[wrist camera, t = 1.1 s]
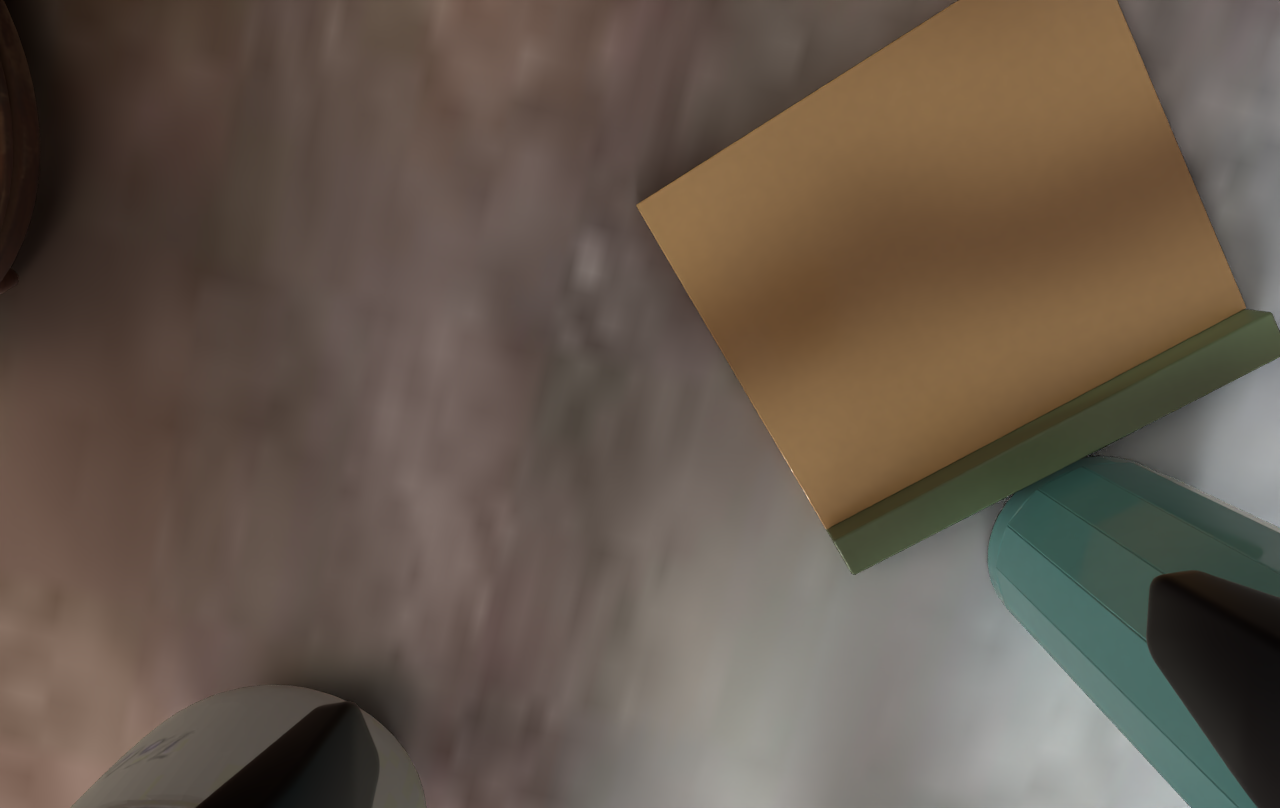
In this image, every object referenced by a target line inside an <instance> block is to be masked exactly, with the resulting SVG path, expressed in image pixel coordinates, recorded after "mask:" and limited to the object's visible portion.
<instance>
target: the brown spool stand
mask: <svg viewBox="0 0 1280 808" xmlns="http://www.w3.org/2000/svg"><path fill="white" fill-rule="evenodd" d="M39 170H40V133H39V118H38V112H37V105H36V98H35V92H34V87H33V83H32V79H31V75H30V71H29V67H28V63H27V60H26V57H25V54H24V51H23V47H22V44H21V41H20V38H19V35H18V33H17V30H16V28H15V26H14V23H13V21H12V18H11V16H10V14H9V11H8V9H7V7H6V5H5V3H4V1H3V0H0V294H2V293H4V292H6V291H7V290H9V289H10V288H12V287H13V286H15V285H16V284H17V283H18V275H17V273H16V272H15V271H14V270H13V269H11V268H10V267H11V265H12V264H13V262H14V260H15V258H16V256H17V254H18V252H19V250H20V248H21V246H22V243H23V241H24V238H25V235H26V232H27V230H28V227H29V224H30V221H31V217H32V213H33V209H34V204H35V200H36V195H37V187H38V179H39Z"/></svg>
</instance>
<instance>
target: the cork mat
mask: <svg viewBox="0 0 1280 808" xmlns="http://www.w3.org/2000/svg"><path fill="white" fill-rule="evenodd" d="M636 206H637V208H638V210H639V211H640V213H641V215H642V217H643V218H644V220H645V222H646V223H647V225H648V227H649V228H650V230H651V232H652V234H653V235H654V237H655V239H656V240H657V242H658V244H659V246H660V247H661V249H662V251H663V252H664V254H665V256H666V257H667V259H668V261H669V263H670V264H671V266H672V268H673V269H674V271H675V273H676V275H677V276H678V278H679V280H680V281H681V283H682V285H683V286H684V288H685V290H686V292H687V293H688V295H689V297H690V298H691V300H692V302H693V304H694V305H695V307H696V309H697V310H698V312H699V314H700V315H701V317H702V319H703V321H704V322H705V324H706V326H707V327H708V329H709V331H710V333H711V334H712V336H713V338H714V339H715V341H716V343H717V344H718V346H719V348H720V350H721V351H722V353H723V355H724V356H725V358H726V360H727V362H728V363H729V365H730V367H731V368H732V370H733V372H734V373H735V375H736V377H737V379H738V380H739V382H740V384H741V385H742V387H743V389H744V390H745V392H746V394H747V396H748V397H749V399H750V401H751V402H752V404H753V406H754V408H755V409H756V411H757V413H758V414H759V416H760V418H761V419H762V421H763V423H764V425H765V426H766V428H767V430H768V431H769V433H770V435H771V437H772V438H773V440H774V442H775V443H776V445H777V447H778V448H779V450H780V452H781V454H782V455H783V457H784V459H785V460H786V462H787V464H788V466H789V467H790V469H791V471H792V472H793V474H794V476H795V477H796V479H797V481H798V483H799V484H800V486H801V488H802V489H803V491H804V493H805V495H806V496H807V498H808V500H809V501H810V503H811V505H812V506H813V508H814V510H815V512H816V513H817V515H818V517H819V518H820V520H821V522H822V524H823V525H824V527H825V529H826V530H827V532H828V534H829V536H830V537H831V539H832V541H833V543H834V545H835V546H836V548H837V550H838V551H839V553H840V555H841V557H842V558H843V560H844V562H845V563H846V565H847V567H848V568H849V570H850V572H851V573H852V574H853V575H856V574H858V573H859V572H861V571H863V570H865V569H867V568H869V567H871V566H873V565H875V564H877V563H879V562H881V561H883V560H885V559H887V558H889V557H891V556H893V555H895V554H897V553H898V552H900V551H902V550H904V549H906V548H908V547H910V546H912V545H914V544H916V543H918V542H920V541H922V540H924V539H926V538H928V537H930V536H932V535H934V534H936V533H937V532H939V531H941V530H943V529H945V528H947V527H949V526H951V525H953V524H955V523H957V522H959V521H961V520H963V519H965V518H967V517H969V516H971V515H973V514H975V513H976V512H978V511H980V510H982V509H984V508H986V507H988V506H990V505H992V504H994V503H996V502H998V501H1000V500H1002V499H1004V498H1006V497H1008V496H1010V495H1012V494H1014V493H1015V492H1017V491H1019V490H1021V489H1023V488H1025V487H1027V486H1029V485H1031V484H1033V483H1035V482H1037V481H1039V480H1041V479H1043V478H1045V477H1047V476H1049V475H1051V474H1053V473H1054V472H1056V471H1058V470H1060V469H1062V468H1064V467H1066V466H1068V465H1070V464H1072V463H1074V462H1076V461H1078V460H1080V459H1082V458H1084V457H1086V456H1088V455H1090V454H1092V453H1093V452H1095V451H1097V450H1099V449H1101V448H1103V447H1105V446H1107V445H1109V444H1111V443H1113V442H1115V441H1117V440H1119V439H1121V438H1123V437H1125V436H1127V435H1129V434H1131V433H1132V432H1134V431H1136V430H1138V429H1140V428H1142V427H1144V426H1146V425H1148V424H1150V423H1152V422H1154V421H1156V420H1158V419H1160V418H1162V417H1164V416H1166V415H1168V414H1170V413H1171V412H1173V411H1175V410H1177V409H1179V408H1181V407H1183V406H1185V405H1187V404H1189V403H1191V402H1193V401H1195V400H1197V399H1199V398H1201V397H1203V396H1205V395H1207V394H1209V393H1210V392H1212V391H1214V390H1216V389H1218V388H1220V387H1222V386H1224V385H1226V384H1228V383H1230V382H1232V381H1234V380H1236V379H1238V378H1240V377H1242V376H1244V375H1246V374H1248V373H1249V372H1251V371H1253V370H1255V369H1257V368H1259V367H1261V366H1263V365H1265V364H1267V363H1269V362H1271V361H1273V360H1275V359H1277V358H1279V357H1280V331H1279V329H1278V326H1277V324H1276V321H1275V319H1274V316H1273V314H1272V313H1271V312H1265V311H1256V310H1248V309H1246V306H1245V303H1244V301H1243V298H1242V296H1241V294H1240V291H1239V289H1238V286H1237V284H1236V282H1235V279H1234V277H1233V275H1232V272H1231V270H1230V267H1229V265H1228V263H1227V260H1226V258H1225V256H1224V253H1223V251H1222V248H1221V246H1220V244H1219V241H1218V239H1217V237H1216V234H1215V232H1214V229H1213V227H1212V225H1211V222H1210V220H1209V218H1208V215H1207V213H1206V210H1205V208H1204V206H1203V203H1202V201H1201V199H1200V196H1199V194H1198V191H1197V189H1196V187H1195V184H1194V182H1193V180H1192V177H1191V175H1190V172H1189V170H1188V168H1187V165H1186V163H1185V160H1184V158H1183V156H1182V153H1181V151H1180V149H1179V146H1178V144H1177V141H1176V139H1175V137H1174V134H1173V132H1172V130H1171V127H1170V125H1169V122H1168V120H1167V118H1166V115H1165V113H1164V111H1163V108H1162V106H1161V103H1160V101H1159V99H1158V96H1157V94H1156V92H1155V89H1154V87H1153V84H1152V82H1151V80H1150V77H1149V75H1148V73H1147V70H1146V68H1145V65H1144V63H1143V61H1142V58H1141V56H1140V54H1139V51H1138V49H1137V46H1136V44H1135V42H1134V39H1133V37H1132V34H1131V32H1130V30H1129V27H1128V25H1127V23H1126V20H1125V18H1124V15H1123V13H1122V11H1121V8H1120V6H1119V4H1118V1H1117V0H958V1H957V2H955V3H953V4H952V5H950V6H949V7H947V8H946V9H944V10H942V11H941V12H939V13H938V14H936V15H934V16H933V17H931V18H930V19H928V20H927V21H925V22H923V23H922V24H920V25H919V26H917V27H916V28H914V29H912V30H911V31H909V32H908V33H906V34H905V35H903V36H901V37H900V38H898V39H897V40H895V41H894V42H892V43H890V44H889V45H887V46H886V47H884V48H882V49H881V50H879V51H878V52H876V53H875V54H873V55H871V56H870V57H868V58H867V59H865V60H864V61H862V62H860V63H859V64H857V65H856V66H854V67H853V68H851V69H849V70H848V71H846V72H845V73H843V74H841V75H840V76H838V77H837V78H835V79H834V80H832V81H830V82H829V83H827V84H826V85H824V86H823V87H821V88H819V89H818V90H816V91H815V92H813V93H812V94H810V95H808V96H807V97H805V98H804V99H802V100H801V101H799V102H797V103H796V104H794V105H793V106H791V107H789V108H788V109H786V110H785V111H783V112H782V113H780V114H778V115H777V116H775V117H774V118H772V119H771V120H769V121H767V122H766V123H764V124H763V125H761V126H760V127H758V128H756V129H755V130H753V131H752V132H750V133H749V134H747V135H745V136H744V137H742V138H741V139H739V140H737V141H736V142H734V143H733V144H731V145H730V146H728V147H726V148H725V149H723V150H722V151H720V152H719V153H717V154H715V155H714V156H712V157H711V158H709V159H708V160H706V161H704V162H703V163H701V164H700V165H698V166H696V167H695V168H693V169H692V170H690V171H689V172H687V173H685V174H684V175H682V176H681V177H679V178H678V179H676V180H674V181H673V182H671V183H670V184H668V185H667V186H665V187H663V188H662V189H660V190H659V191H657V192H656V193H654V194H652V195H651V196H649V197H648V198H646V199H644V200H643V201H641V202H640V203H638V204H637V205H636Z"/></svg>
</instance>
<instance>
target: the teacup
mask: <svg viewBox="0 0 1280 808" xmlns="http://www.w3.org/2000/svg"><path fill="white" fill-rule="evenodd" d="M344 701H345V700H343V699H341V698H338V697H336V696H333V695H330V694H327V693H324V692H320V691H317V690H313V689H309V688H305V687H298V686H290V685H259V686H251V687H243V688H238V689H234V690H230V691H226V692H222V693H219V694H216V695H213V696H211V697H208V698H206V699H203V700H201V701H199V702H196V703H194V704H192V705H190V706H188V707H187V708H185V709H183V710H181V711H179V712H178V713H176V714H175V715H173V716H172V717H170V718H169V719H167V720H166V721H164V722H163V723H162V724H160V725H159V726H158V727H156V728H155V729H154V730H153V731H151V732H150V733H149V734H148V735H146V736H145V737H144V738H143V739H142V740H140V741H139V742H138V743H137V744H136V745H135V746H134V747H133V748H132V749H130V750H129V751H128V752H127V753H126V754H125V755H124V756H123V757H121V758H120V759H119V760H118V761H117V762H116V763H115V764H114V765H113V766H112V767H111V768H110V769H109V770H108V771H107V772H106V773H105V774H104V775H102V776H101V777H100V778H99V779H98V780H97V781H96V782H95V783H94V784H93V785H92V786H91V787H90V788H89V789H88V790H87V791H86V792H85V793H84V794H83V795H82V796H81V797H80V798H79V799H78V800H77V801H76V802H75V803H74V804H73V805H72V806H71V807H70V808H195V807H196V806H198V805H199V804H200V803H201V802H202V801H204V800H205V799H206V798H207V797H208V796H210V795H211V794H212V793H213V792H214V791H216V790H217V789H218V788H219V787H220V786H222V785H223V784H224V783H225V782H227V781H228V780H229V779H230V778H231V777H233V776H234V775H235V774H236V773H237V772H239V771H240V770H241V769H242V768H243V767H245V766H246V765H247V764H248V763H249V762H251V761H252V760H253V759H254V758H255V757H257V756H258V755H259V754H260V753H261V752H263V751H264V750H265V749H266V748H268V747H269V746H270V745H271V744H272V743H274V742H275V741H276V740H277V739H278V738H280V737H281V736H282V735H283V734H284V733H286V732H287V731H288V730H289V729H290V728H292V727H293V726H294V725H295V724H296V723H298V722H299V721H300V720H301V719H302V718H304V717H305V716H306V715H307V714H309V713H310V712H311V711H312V710H313V709H315V708H316V707H318V706H321V705H325V704H331V703H338V702H344ZM360 710H361V712H362V714H363V717H364V719H365V722H366V724H367V727H368V729H369V731H370V734H371V736H372V739H373V741H374V744H375V746H376V748H377V751H378V755H379V760H380V771H379V778H378V783H377V788H376V792H375V797H374V802H373V806H372V808H427V807H426V802H425V796H424V792H423V788H422V785H421V782H420V779H419V776H418V773H417V771H416V769H415V767H414V765H413V763H412V762H411V760H410V758H409V756H408V754H407V753H406V751H405V750H404V749H403V747H402V746H401V745H400V743H399V742H398V741H397V739H396V738H395V737H394V736H393V735H392V734H391V733H390V732H389V731H388V730H387V729H386V728H385V727H384V726H383V725H382V724H381V723H379V722H378V721H377V720H376V719H375V718H373V717H372V716H371V715H369V714H368V713H366V712H365V711H363V710H362V709H360Z"/></svg>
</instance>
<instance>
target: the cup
mask: <svg viewBox="0 0 1280 808" xmlns="http://www.w3.org/2000/svg"><path fill="white" fill-rule="evenodd" d="M988 569H989V575H990V578H991V582H992V585H993V587H994V589H995V591H996V594H997V595H998V597H999V598H1000V600H1001V602H1002V603H1003V604H1004V605H1005V607H1006V608H1007V609H1008V610H1009V611H1010V613H1011V614H1012V615H1013V616H1014V617H1015V618H1016V619H1017V620H1018V621H1019V622H1020V623H1021V624H1022V626H1023V627H1024V628H1025V629H1026V630H1027V631H1028V632H1029V633H1030V634H1031V635H1032V636H1033V637H1034V639H1035V640H1036V641H1037V642H1038V643H1039V644H1040V645H1041V646H1042V647H1043V648H1044V649H1045V650H1046V652H1047V653H1048V654H1049V655H1050V656H1051V657H1052V658H1053V659H1054V660H1055V661H1056V662H1057V663H1058V664H1059V666H1060V667H1061V668H1062V669H1063V670H1064V671H1065V672H1066V673H1067V674H1068V675H1069V676H1070V677H1071V679H1072V680H1073V681H1074V682H1075V683H1076V684H1077V685H1078V686H1079V687H1080V688H1081V689H1082V690H1083V692H1084V693H1085V694H1086V695H1087V696H1088V697H1089V698H1090V699H1091V700H1092V701H1093V702H1094V703H1095V704H1096V706H1097V707H1098V708H1099V709H1100V710H1101V711H1102V712H1103V713H1104V714H1105V715H1106V716H1107V717H1108V719H1109V720H1110V721H1111V722H1112V723H1113V724H1114V725H1115V726H1116V727H1117V728H1118V729H1119V730H1120V732H1121V733H1122V734H1123V735H1124V736H1125V737H1126V738H1127V739H1128V740H1129V741H1130V742H1131V743H1132V745H1133V746H1134V747H1135V748H1136V749H1137V750H1138V751H1139V752H1140V753H1141V754H1142V755H1143V756H1144V757H1145V759H1146V760H1147V761H1148V762H1149V763H1150V764H1151V765H1152V766H1153V767H1154V768H1155V769H1156V770H1157V772H1158V773H1159V774H1160V775H1161V776H1162V777H1163V778H1164V779H1165V780H1166V781H1167V782H1168V783H1169V785H1170V786H1171V787H1172V788H1173V789H1174V790H1175V791H1176V792H1177V793H1178V794H1179V795H1180V796H1181V798H1182V799H1183V800H1184V801H1185V802H1186V803H1187V804H1188V805H1189V806H1190V807H1191V808H1257V806H1256V805H1255V804H1254V802H1253V801H1252V800H1251V799H1250V797H1249V796H1248V795H1247V794H1246V792H1245V791H1244V789H1243V788H1242V787H1241V785H1240V784H1239V783H1238V781H1237V780H1236V779H1235V777H1234V776H1233V774H1232V773H1231V772H1230V770H1229V769H1228V767H1227V766H1226V764H1225V763H1224V762H1223V760H1222V759H1221V757H1220V756H1219V754H1218V753H1217V751H1216V750H1215V749H1214V747H1213V746H1212V744H1211V743H1210V741H1209V740H1208V738H1207V737H1206V736H1205V734H1204V733H1203V731H1202V730H1201V728H1200V727H1199V725H1198V724H1197V722H1196V721H1195V720H1194V718H1193V717H1192V715H1191V714H1190V712H1189V711H1188V709H1187V708H1186V707H1185V705H1184V704H1183V702H1182V701H1181V699H1180V698H1179V696H1178V695H1177V694H1176V692H1175V691H1174V689H1173V688H1172V686H1171V685H1170V683H1169V682H1168V681H1167V679H1166V678H1165V676H1164V675H1163V673H1162V672H1161V670H1160V669H1159V668H1158V666H1157V665H1156V663H1155V662H1154V660H1153V658H1152V656H1151V654H1150V652H1149V649H1148V646H1147V641H1146V628H1147V614H1148V600H1149V588H1150V584H1151V582H1152V580H1153V579H1154V578H1155V577H1157V576H1159V575H1162V574H1169V573H1175V572H1182V571H1188V570H1196V571H1201V572H1205V573H1208V574H1211V575H1214V576H1217V577H1220V578H1223V579H1226V580H1229V581H1232V582H1235V583H1238V584H1241V585H1244V586H1247V587H1250V588H1252V589H1255V590H1258V591H1261V592H1264V593H1267V594H1270V595H1273V596H1276V597H1279V598H1280V528H1279V527H1277V526H1275V525H1273V524H1271V523H1269V522H1266V521H1264V520H1262V519H1260V518H1258V517H1256V516H1254V515H1252V514H1249V513H1247V512H1245V511H1243V510H1241V509H1239V508H1237V507H1235V506H1232V505H1230V504H1228V503H1226V502H1224V501H1222V500H1220V499H1218V498H1215V497H1213V496H1211V495H1209V494H1207V493H1205V492H1203V491H1200V490H1198V489H1196V488H1194V487H1192V486H1190V485H1188V484H1186V483H1183V482H1181V481H1179V480H1177V479H1175V478H1173V477H1170V476H1167V475H1165V474H1162V473H1159V472H1157V471H1154V470H1152V469H1150V468H1148V467H1146V466H1144V465H1142V464H1139V463H1137V462H1134V461H1130V460H1127V459H1123V458H1117V457H1106V456H1095V457H1084V458H1082V459H1080V460H1078V461H1076V462H1074V463H1072V464H1070V465H1068V466H1066V467H1064V468H1062V469H1060V470H1058V471H1056V472H1054V473H1053V474H1051V475H1049V476H1047V477H1045V478H1043V479H1041V480H1039V481H1037V482H1035V483H1033V484H1031V485H1029V486H1027V487H1025V488H1023V489H1021V490H1019V491H1017V492H1015V493H1014V494H1013V496H1012V497H1011V498H1010V499H1009V501H1008V502H1007V503H1006V504H1005V506H1004V507H1003V509H1002V511H1001V512H1000V514H999V515H998V518H997V520H996V522H995V524H994V526H993V529H992V532H991V536H990V540H989V546H988Z"/></svg>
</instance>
